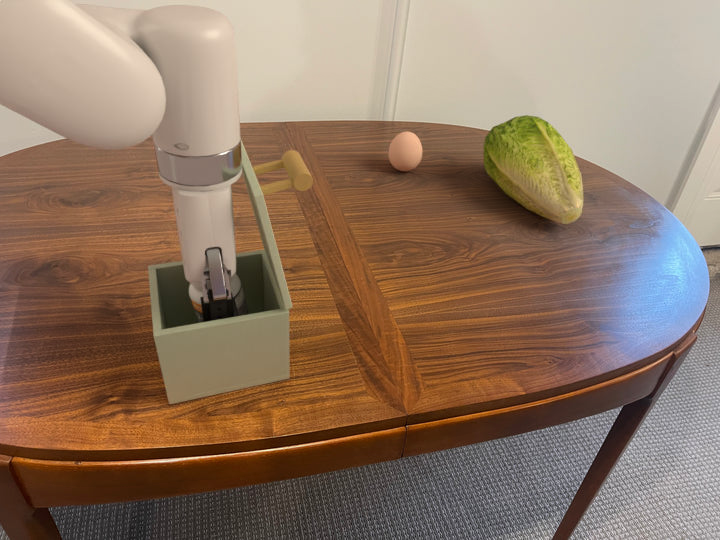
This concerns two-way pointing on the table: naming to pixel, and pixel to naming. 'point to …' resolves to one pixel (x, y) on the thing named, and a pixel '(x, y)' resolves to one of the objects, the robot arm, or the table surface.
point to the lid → (297, 179)
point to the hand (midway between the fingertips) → (215, 303)
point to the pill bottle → (196, 288)
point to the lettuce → (535, 168)
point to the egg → (405, 151)
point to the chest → (219, 333)
